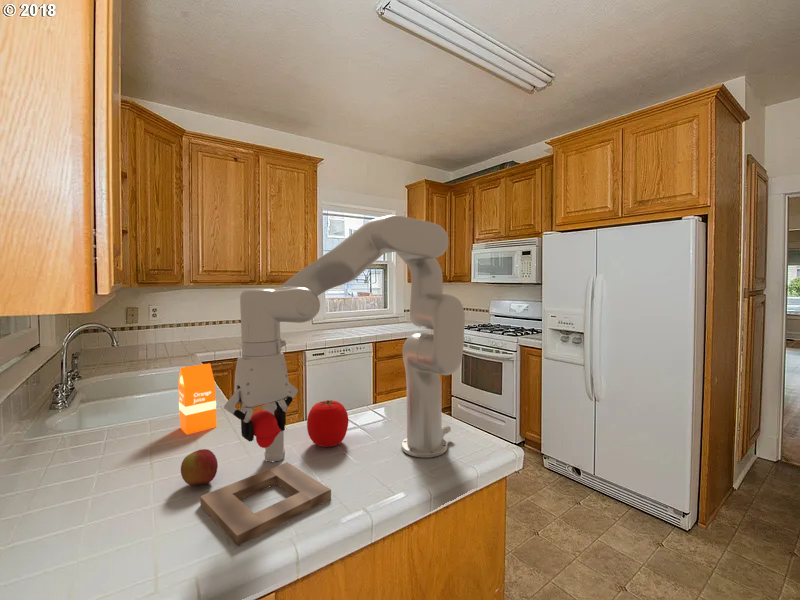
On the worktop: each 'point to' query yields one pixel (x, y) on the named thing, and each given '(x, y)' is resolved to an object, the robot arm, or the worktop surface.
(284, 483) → the walnut board
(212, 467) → the apple
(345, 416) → the tomato
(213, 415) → the orange juice
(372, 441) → the worktop surface
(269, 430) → the red rounded piece
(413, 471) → the worktop surface
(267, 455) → the bottle
